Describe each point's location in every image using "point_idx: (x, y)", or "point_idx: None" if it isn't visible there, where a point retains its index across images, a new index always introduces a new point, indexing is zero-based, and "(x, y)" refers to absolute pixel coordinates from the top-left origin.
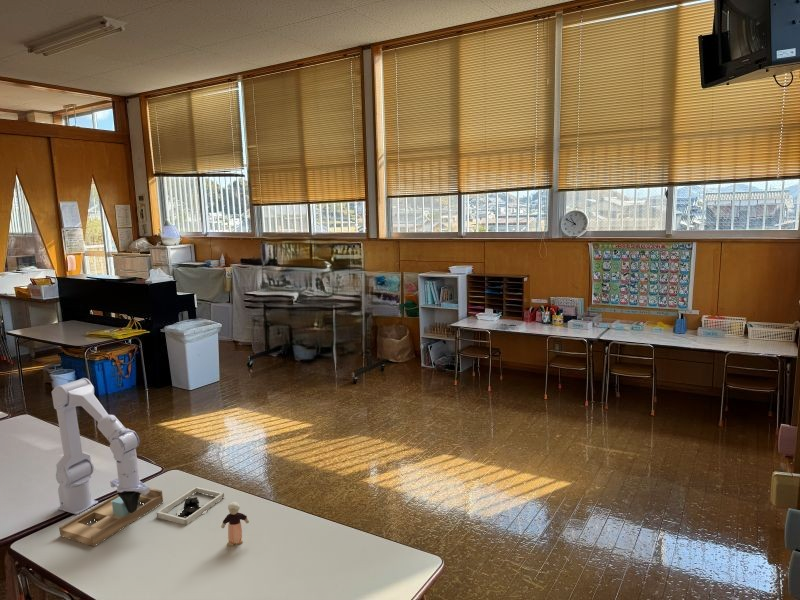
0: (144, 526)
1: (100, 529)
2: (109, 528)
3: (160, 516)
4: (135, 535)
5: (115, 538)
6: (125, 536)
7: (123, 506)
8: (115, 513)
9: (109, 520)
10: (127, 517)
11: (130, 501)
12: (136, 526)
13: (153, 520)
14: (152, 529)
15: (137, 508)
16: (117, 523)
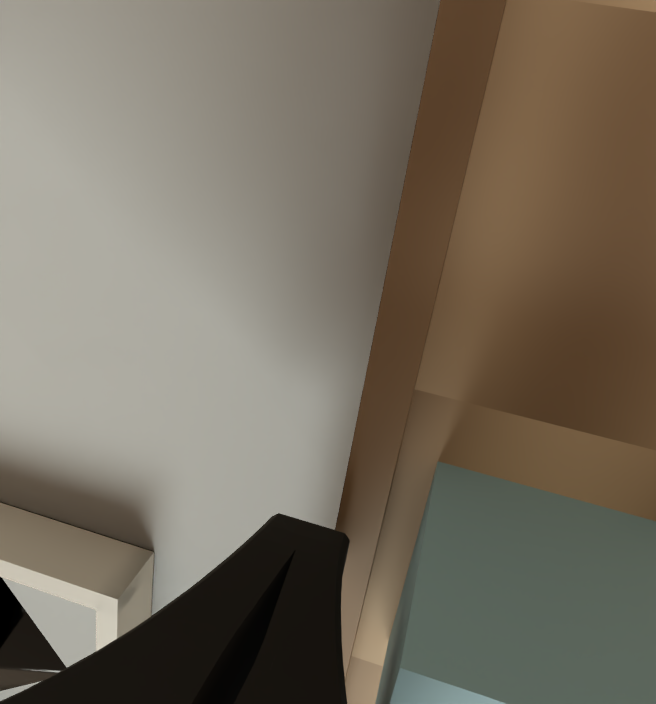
0: (150, 382)
1: (639, 2)
2: (428, 66)
3: (86, 551)
4: (100, 180)
5: (320, 41)
6: (211, 128)
7: (407, 624)
8: (645, 536)
9: (651, 350)
10: (351, 451)
11: (39, 685)
12: (246, 372)
13: (147, 500)
14: (16, 334)
15: (343, 656)
16: (393, 263)
